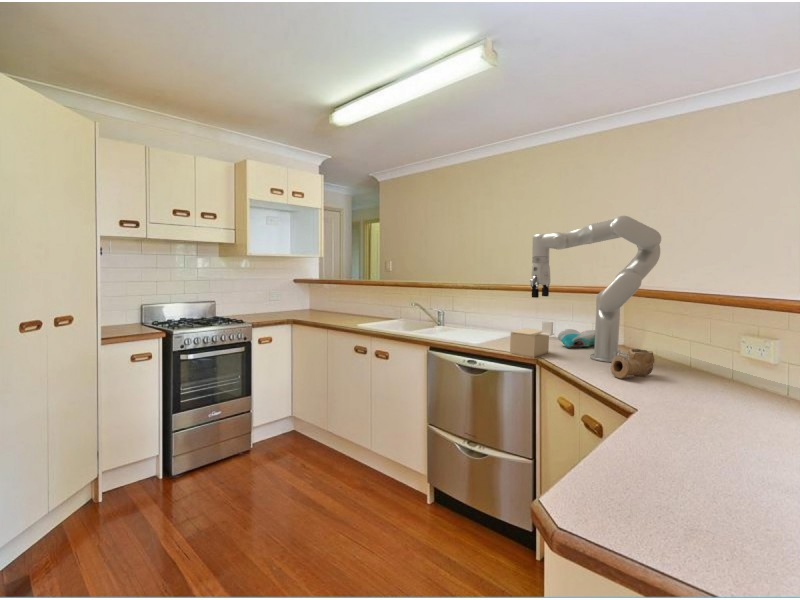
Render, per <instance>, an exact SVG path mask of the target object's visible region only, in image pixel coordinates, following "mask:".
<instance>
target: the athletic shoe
mask: <svg viewBox="0 0 800 600" xmlns="http://www.w3.org/2000/svg"><path fill="white" fill-rule="evenodd" d="M557 339H558V340H559V341H560V342H561V343H562V344H563V345H564V346H565V347H566V348H570V349H571V348H582V347H583V348H585V347H591V346H594V344H595V329H588V330H584V331H581V332H580V331H578V330H577V329H573V328H566V329H564V330H562V331H560V332H559V333H558V335H557Z"/></svg>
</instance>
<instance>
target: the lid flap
mask: <svg viewBox="0 0 800 600" xmlns="http://www.w3.org/2000/svg"><path fill="white" fill-rule="evenodd" d="M541 328H542V329H534V328H527V327H525V328H521V329H517V330H512V331H510V334H511V333H517V334H524V335H532V336H536V335H547V336H549V337H551V336H554V335H555V333H554V322H553V321H548V320H546V321H545V320H544V321H542V327H541Z"/></svg>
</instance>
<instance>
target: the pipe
mask: <svg viewBox="0 0 800 600" xmlns="http://www.w3.org/2000/svg"><path fill="white" fill-rule="evenodd" d="M610 363H611V365H610V373H611V374H612V375H613V376H614V377H615V378H617V379H624V378H627V377H631V376H634V377H635V376H636V377H639V378H640V377H641V378H642V377H646V376H648V375H650V374H651V373H652V372H653V369H654V364H655V355H654V352H653V351H648V350H646V349H640V348H630V349H628V359H626V358H625V357H623V356H616V357H614V358H613V360H612V362H610Z"/></svg>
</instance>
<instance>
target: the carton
mask: <svg viewBox="0 0 800 600" xmlns="http://www.w3.org/2000/svg"><path fill="white" fill-rule="evenodd" d="M549 343H550V336H547V335H536V336H532V335H524V334H517V333H511V332H510V346H509V354H510V353H513V354H512V355H516V354H518V355H517V356H521V355H522V357H528V358H537V357H539V356H543V355H545V354H546V355H547V354H549V348H550V347H549Z"/></svg>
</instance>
